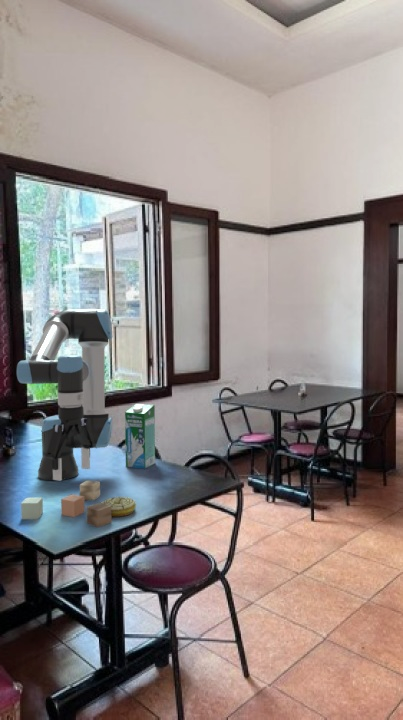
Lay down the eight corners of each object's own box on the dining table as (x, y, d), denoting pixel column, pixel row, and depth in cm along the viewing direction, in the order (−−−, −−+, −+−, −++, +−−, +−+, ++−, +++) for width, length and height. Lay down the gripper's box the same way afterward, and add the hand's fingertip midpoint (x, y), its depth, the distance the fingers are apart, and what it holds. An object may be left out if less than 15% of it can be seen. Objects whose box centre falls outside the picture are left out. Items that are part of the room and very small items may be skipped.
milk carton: (125, 466, 211) (124, 406, 209) (136, 461, 219) (135, 403, 217) (145, 469, 207) (144, 407, 206) (155, 463, 216) (154, 404, 214)
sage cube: (21, 519, 155) (20, 503, 155) (26, 513, 160) (26, 497, 160) (38, 519, 155) (37, 503, 155) (42, 513, 160) (42, 497, 160)
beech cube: (79, 499, 172) (79, 484, 172) (86, 494, 177) (86, 480, 177) (93, 500, 171) (93, 486, 171) (100, 495, 176) (99, 481, 175)
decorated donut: (111, 504, 168) (111, 493, 167) (141, 508, 164) (140, 496, 164) (94, 515, 158) (94, 503, 158) (126, 520, 154) (125, 507, 154)
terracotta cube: (61, 514, 158) (61, 499, 158) (71, 509, 163) (71, 494, 163) (74, 517, 156) (74, 501, 156) (84, 511, 161) (84, 496, 161)
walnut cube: (87, 523, 152) (86, 507, 151) (100, 518, 156) (100, 502, 155) (98, 527, 148) (97, 511, 148) (111, 522, 152) (111, 506, 152)
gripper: (52, 412, 144) (54, 486, 146) (104, 401, 167) (105, 465, 168) (32, 411, 147) (34, 483, 149) (86, 400, 170) (87, 463, 171)
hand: (72, 474), depth 158 cm, fingers open, 13 cm apart
